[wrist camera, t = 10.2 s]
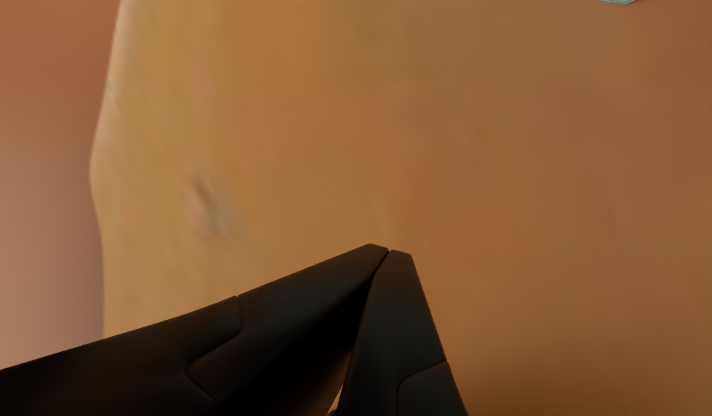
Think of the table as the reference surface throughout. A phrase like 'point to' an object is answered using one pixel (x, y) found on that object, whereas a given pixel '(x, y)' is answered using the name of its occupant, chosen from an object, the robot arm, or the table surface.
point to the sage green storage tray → (619, 1)
